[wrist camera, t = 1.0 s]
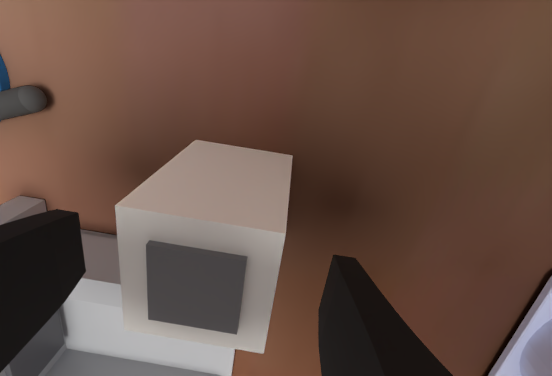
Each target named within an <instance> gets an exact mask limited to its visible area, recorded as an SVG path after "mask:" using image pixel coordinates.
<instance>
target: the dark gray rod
mask: <svg viewBox="0 0 552 376" xmlns="http://www.w3.org/2000/svg"><path fill="white" fill-rule="evenodd" d="M46 104H47V98H46V96H45V94H44V93H43V92H42V91H41V90H40V89H38V88H37V87H34V86H29V85H26V86H21V87H17V88H13V89H8V90H4V91H0V120H4V119H9V118H13V117H17V116H22V115H26V114H31V113H35V112H39V111H41V110H43V109H44V108H45V106H46Z"/></svg>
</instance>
